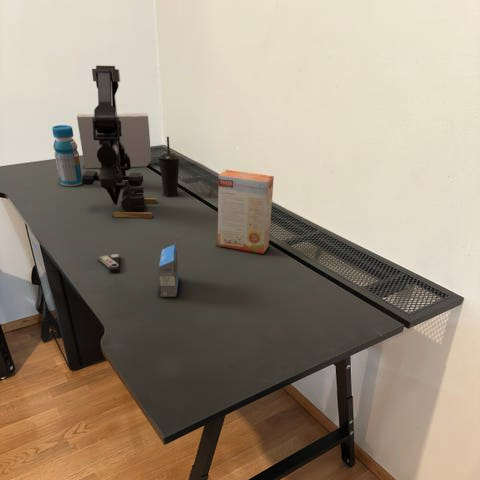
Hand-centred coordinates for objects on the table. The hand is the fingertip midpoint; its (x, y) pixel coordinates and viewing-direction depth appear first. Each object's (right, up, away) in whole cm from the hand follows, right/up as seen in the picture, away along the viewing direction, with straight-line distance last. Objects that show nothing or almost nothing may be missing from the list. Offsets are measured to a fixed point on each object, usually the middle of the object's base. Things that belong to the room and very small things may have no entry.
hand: (115, 204), depth 151 cm
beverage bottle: (-22, +13, +20) cm, 33 cm away
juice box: (+24, -31, -39) cm, 55 cm away
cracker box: (+42, -17, -19) cm, 49 cm away
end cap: (+6, -2, +1) cm, 6 cm away
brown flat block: (+7, -1, +1) cm, 7 cm away
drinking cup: (+16, +7, +14) cm, 23 cm away
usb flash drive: (+7, -24, -31) cm, 40 cm away
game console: (-10, +26, +40) cm, 49 cm away
